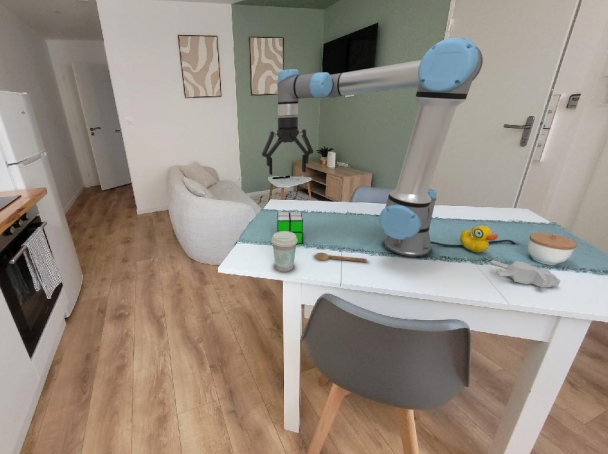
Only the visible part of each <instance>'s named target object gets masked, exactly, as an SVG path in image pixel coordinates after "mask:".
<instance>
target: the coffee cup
mask: <svg viewBox="0 0 608 454" xmlns="http://www.w3.org/2000/svg"><path fill="white" fill-rule="evenodd" d="M297 242H298V241H297V238H296V235H295V234H294V233H292V232H288V231H280V232H277V231H276V232H274V234H273V235H272V237H271V243H272V249H273V257H274V263H275V268H276V270H277V271H279V272H283V273H285V272H291V271H292V270H293V268H294V262H295V256H296V250H297V244H298V243H297Z"/></svg>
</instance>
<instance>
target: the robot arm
mask: <svg viewBox="0 0 608 454" xmlns="http://www.w3.org/2000/svg"><path fill="white" fill-rule="evenodd" d="M483 62H484V57H483V54H482V51H481V50H480V48H479V47H478V46H477V45H476V44H475V43H474V42H473V41H472V40H470V39H468V38H466V37H448V38H445V39H443V40H440V41H439V42H437V43H435V44H434V45H433V46H432V47H430V48H429V49H428V50H427V51H426V52H425V53H424V55H423V57H422V58H421V59H420V60H419V59H418V60H414V61H413V60H412V61H407V62H401V63H395V64H394V63H393V64H389V65H383V66H377V67H370V68H364V69H359V70H353V71H347V72H340V73H334V74H330V73H329V72H328V71H327V72H324V71H323V72H321V71H319V72H314V73H307V74H300V71H299V70H298V69H296V68H295V69H293V68H291V69H282V70H279V72H278V73H277V84H276V86H277V116H278V118H277V131H273V130H270V131H269V135H268V138H267V141H266V143H265V145H264V148H263V149H262V152H261V156H262V157H264V158H266V161H265V162H266V163H265V164H266V166H267V167H268V174H269V175H270V176H273V157H272V156H273V154H274V153H275V152H276V150H277V149H278V147H279V146H280V145H281V144H283V143H284V144H286V143H293V142H294V143H295V144H296V146H297V147H298V148H299V149H300V151H301V152H302V153H303V154H302V155H301V172H302V173H306V172H307V164H309V156H310V155H311V154H313V153H314V149H313V147H312V144H311V143H310V140H309V138H308V136H307V129H305V128H301V129H299V128H298V127H299V118H298V115H299V100H300V99H321V98H329V99H331V98H337V97H343V96H355V95H363V94H372V93H373V94H374V93H380V92H381V93H383V92H391V91H399V90H408V89H417V90H416V93H415V96H414V98H415V100H416V101H417V103H418V109H417V112H416V116H415V120H414V124H413V126H412V130H411V134H410V137H409V141H408V145H407V148H406V151H405V155H404V158H403V162H402V165H401V169H400V173H399V177H398V180H397V184H396V187H394V188H392V189H391V190H390V191H389V193H388V197H387V199H386V204H385V207H384V208H383V209H382V210H381V212H380V214H379V216H378V225H379V227H380V229H381V231H383V233H384V234H385V235H386V237H385V239H384V245H383V246H384V247H385V249H386V250H388V251H389V252H391V253H392V254H395V255H397V256H403V257H408V258H423V257H427V256H428V255H430V254H431V252H432V245H437V246H440V247H441V246H443V247H452V248H454V247H455V248H458V247H459V248H465V247H464V246H463V245H462V244H447V243H440V242H438V241H437V242H436V241H431V237H430V227H431V224H432V223H431V222H432V218H433V214H434V210H435V209H434V208H435V204H436V201H437V191H436V190H434V189H432V188H430V187H431V184H432V181H433V178H434V175H435V172H436V169H437V166H438V162H439V160H440V156H441V154H442V151H443V148H444V145H445V142H446V139H447V136H448V133H449V130H450V127H451V123H452V121H453V118H454V115H455V112H456V108H457V107H458V106H460V105H461V104H463V103H464V102H466V100H467V98H468V94H469V91H470V89H471V86H472V83H473V82H474V81H475V79H477V77H478V75H480V72H481V70H482V67H483ZM299 135H300V136H301V139H302V140H303V142H304V145H305V146H306V148H305V146H304V145H303V144H302V142H300V140H299V139H298V136H299ZM276 136H277V137H278V138H277V139H276V142H275V143H274V144H273V145H272V142H273V140H274V138H275V137H276ZM271 145H272V147H271ZM270 147H271V148H270ZM488 243H489V244H494V243H496V244H497V243H511V244H512V245H516V241H513V240H511V239H499V240H492V241H489V240H488Z"/></svg>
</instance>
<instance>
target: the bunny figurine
mask: <svg viewBox="0 0 608 454" xmlns="http://www.w3.org/2000/svg"><path fill="white" fill-rule="evenodd" d="M489 264H490V265H491V266H495V267H498V268H497V269H496V274H497V275H498V276H501V277H510V278H511V279H512V280H513V282H515V283H519V284H523V285H530V284H532V285H534V286H537V287H539V288H552V287H554V286H559V285H560V283H561V280H560V279H559V277H557V276H556V274H554V273H552V272H551V271H550V270H549V269H547V268H545V267H536V266H534V265H533V264H530V263H527V262H524V261H519V260H518V261H517V260H515V261H513V262H511V264H505V263H503V262H500V261H498V260H494V259H493V260H490V261H489Z"/></svg>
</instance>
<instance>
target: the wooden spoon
mask: <svg viewBox="0 0 608 454" xmlns="http://www.w3.org/2000/svg"><path fill="white" fill-rule="evenodd" d="M315 259H316V260H317V261H323V262H324V261H328V260H330V259H331V260H339V261H350V262H359V263H360V262H361V263H366V262H368V259H367V258H364V257H352V256H341V255H331V254H327V253H325V252H317V253H316V254H315Z"/></svg>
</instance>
